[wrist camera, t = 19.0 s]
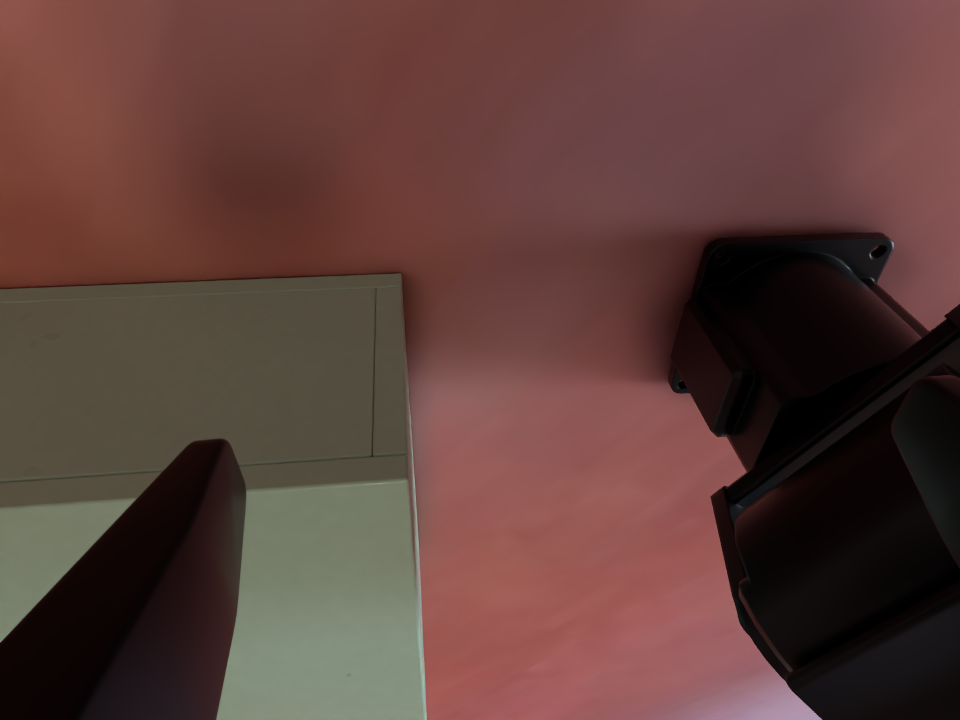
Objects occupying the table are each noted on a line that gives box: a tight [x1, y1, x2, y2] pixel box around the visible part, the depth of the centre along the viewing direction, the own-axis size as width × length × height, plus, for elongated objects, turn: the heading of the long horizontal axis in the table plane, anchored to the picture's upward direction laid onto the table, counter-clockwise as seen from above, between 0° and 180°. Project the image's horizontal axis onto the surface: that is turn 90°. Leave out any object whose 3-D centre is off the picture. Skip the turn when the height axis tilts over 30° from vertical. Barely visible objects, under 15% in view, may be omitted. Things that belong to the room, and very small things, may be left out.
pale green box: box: [0, 273, 427, 720], centre depth 21 cm, size 15×14×9 cm
